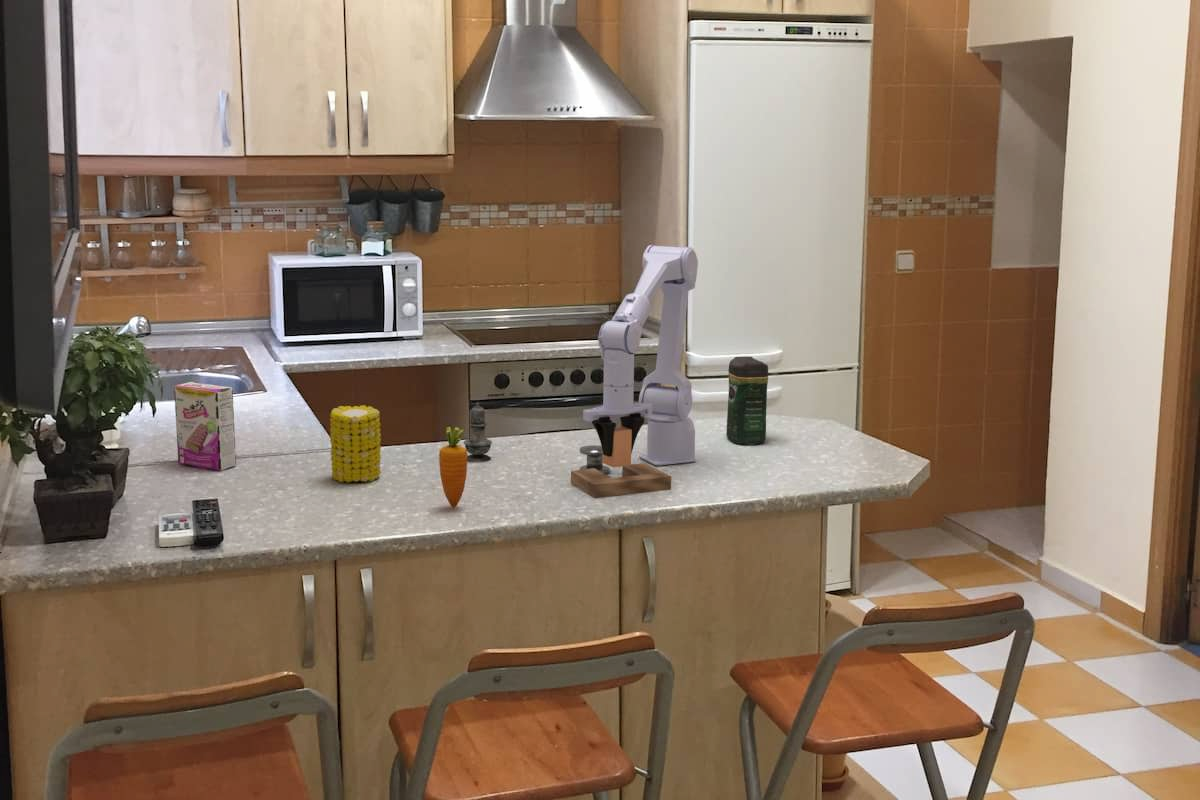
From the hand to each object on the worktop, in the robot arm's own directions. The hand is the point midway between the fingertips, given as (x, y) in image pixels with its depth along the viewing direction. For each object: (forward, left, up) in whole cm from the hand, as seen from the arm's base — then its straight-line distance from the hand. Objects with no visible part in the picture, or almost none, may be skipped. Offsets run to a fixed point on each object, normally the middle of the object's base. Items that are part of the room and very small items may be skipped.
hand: (617, 454), depth 251 cm
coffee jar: (-42, -22, -6) cm, 48 cm away
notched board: (0, +1, -6) cm, 6 cm away
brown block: (0, 0, -2) cm, 2 cm away
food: (+45, -23, -6) cm, 51 cm away
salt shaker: (+18, -29, -6) cm, 35 cm away
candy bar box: (+70, -44, -6) cm, 83 cm away
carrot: (+34, +3, -6) cm, 35 cm away
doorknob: (0, -11, -6) cm, 12 cm away
